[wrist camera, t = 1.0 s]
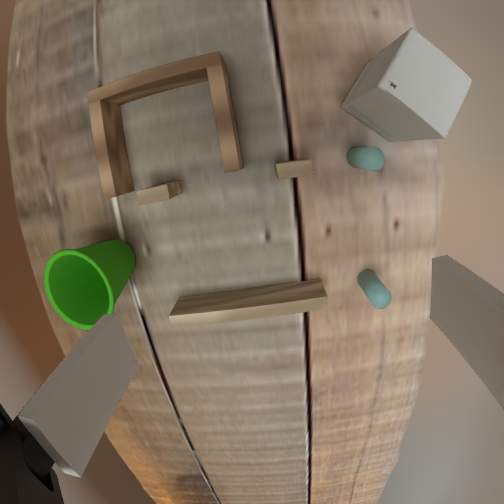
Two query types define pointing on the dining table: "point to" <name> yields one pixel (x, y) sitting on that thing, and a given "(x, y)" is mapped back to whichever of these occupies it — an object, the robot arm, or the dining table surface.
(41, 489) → the robot arm
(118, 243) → the cup
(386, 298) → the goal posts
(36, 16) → the dining table surface
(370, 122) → the supplement box
